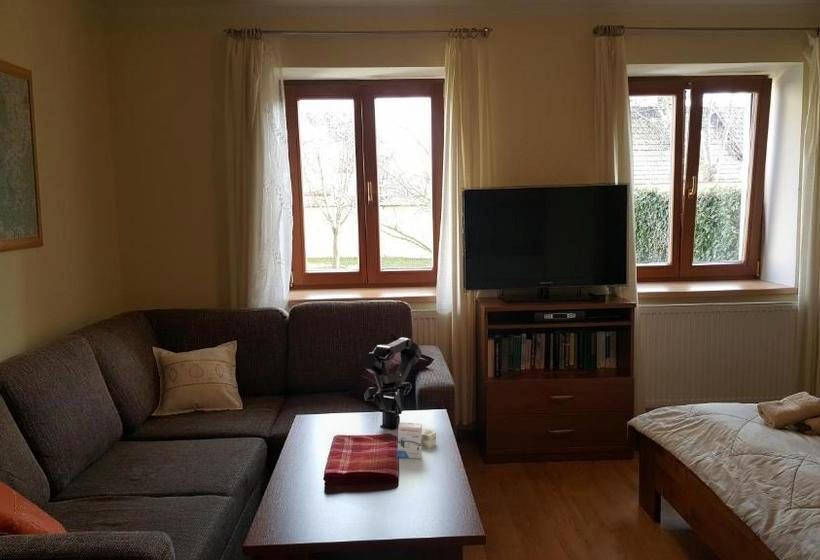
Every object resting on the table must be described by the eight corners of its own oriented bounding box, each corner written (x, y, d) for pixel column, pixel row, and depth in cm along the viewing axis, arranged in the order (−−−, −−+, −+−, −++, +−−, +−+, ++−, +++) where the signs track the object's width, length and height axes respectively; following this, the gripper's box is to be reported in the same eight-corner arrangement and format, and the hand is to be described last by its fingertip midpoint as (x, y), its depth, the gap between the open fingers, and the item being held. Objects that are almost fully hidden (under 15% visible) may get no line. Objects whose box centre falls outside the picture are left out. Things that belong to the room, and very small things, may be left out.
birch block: (418, 446, 241) (418, 433, 240) (424, 441, 245) (424, 429, 244) (429, 448, 238) (429, 436, 238) (435, 444, 242) (436, 432, 242)
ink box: (397, 457, 229) (397, 426, 228) (398, 452, 234) (399, 422, 233) (420, 459, 228) (421, 428, 227) (421, 453, 233) (422, 423, 232)
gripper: (367, 367, 237) (380, 404, 229) (410, 362, 247) (424, 397, 238) (358, 382, 245) (370, 418, 237) (400, 376, 254) (413, 410, 246)
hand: (395, 410), depth 239 cm, fingers open, 6 cm apart
